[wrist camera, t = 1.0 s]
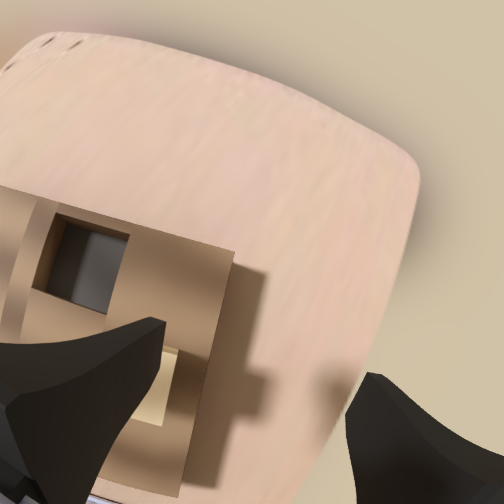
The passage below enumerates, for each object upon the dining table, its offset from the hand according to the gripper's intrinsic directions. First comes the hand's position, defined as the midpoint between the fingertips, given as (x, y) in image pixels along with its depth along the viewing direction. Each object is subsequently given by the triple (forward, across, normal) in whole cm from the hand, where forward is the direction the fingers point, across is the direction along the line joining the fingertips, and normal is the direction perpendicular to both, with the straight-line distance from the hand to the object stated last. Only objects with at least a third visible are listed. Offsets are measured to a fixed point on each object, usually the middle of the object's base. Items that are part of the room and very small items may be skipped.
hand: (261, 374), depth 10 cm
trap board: (+7, +16, +8) cm, 19 cm away
